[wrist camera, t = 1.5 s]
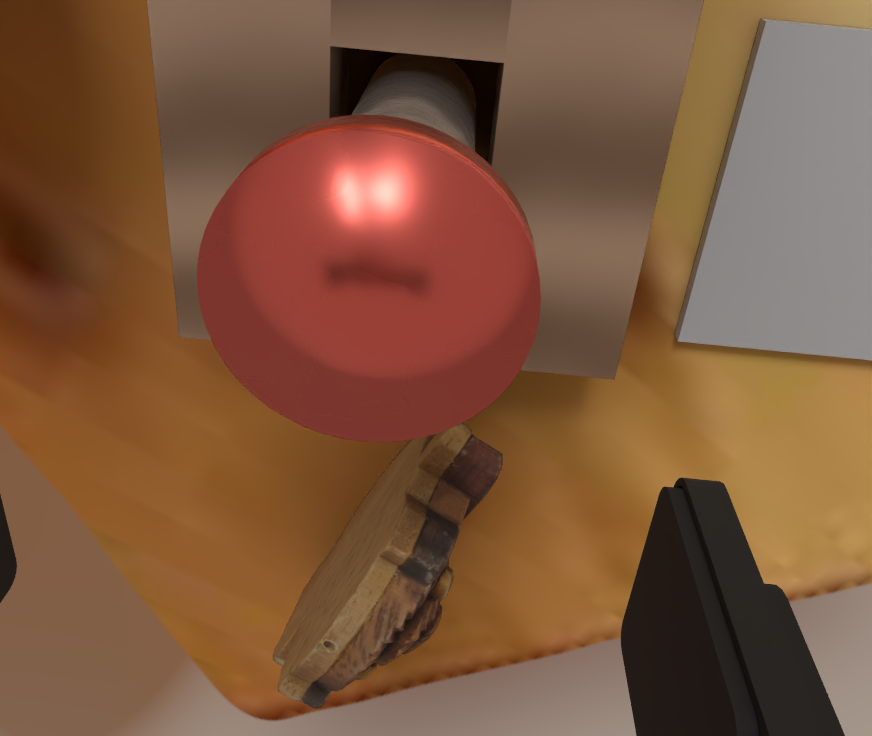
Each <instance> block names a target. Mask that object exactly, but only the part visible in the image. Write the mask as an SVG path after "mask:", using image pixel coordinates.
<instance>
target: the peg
mask: <svg viewBox="0 0 872 736" xmlns="http://www.w3.org/2000/svg"><path fill="white" fill-rule="evenodd" d="M475 131H476V98H475V94H474V90H473V87H472V85H471V83H470V81H469V79H468V77H467V76H466V74H465V73H464V71H463V70H462V69H461V68H460V67H459V66H458V65H457V64H456V63H455V62H454V61H452V60H451V59H449V58H447V57H437V56H427V55H417V54H406V53H399V54H396V55H394V56H392V57H391V58H389V59H388V60H386V61H385V62H384V63H382V65H381V66H380V67H379V68H378V69H377V70H376V71H375V73H374V74H373V76H372V78H371V79H370V81H369V83H368V85H367V87H366V89H365V91H364V92H363V94H362V96H361V98H360V100H359V102H358V104H357V106H356V107H355V109H354V111H353V113H352V115H348V116H339V117H333V118H329V119H325V120H321V121H317V122H313V123H311V124H308V125H306V126H303V127H301V128H298V129H296V130H293V131H291V132H290V133H288V134H286V135H285V136H283V137H281V138H279V139H278V140H276V141H274V142H273V143H272V144H270V145H269V146H268V147H267V148H265V149H264V150H263V151H262V152H260V153H259V154H258V155H257V156H256V157H255V158H254V159H253V160H252V161H251V162H250V163H249V164H248V165H247V166H246V168H245V169H244V170H243V171H242V172H241V173H240V175H239V176H238V177H237V178H236V180H235V181H234V182H233V184H232V185H231V186H230V187H229V189H228V190H227V191H226V193H225V194H224V196H223V197H222V199H221V200H220V201H219V203H218V204H217V206H216V207H215V209H214V211H213V213H212V215H211V217H210V219H209V221H208V224H207V226H206V228H205V231H204V235H203V238H202V241H201V245H200V249H199V256H198V263H197V291H198V297H199V304H200V309H201V312H202V316H203V319H204V323H205V326H206V328H207V331H208V333H209V335H210V337H211V340H212V342H213V344H214V346H215V348H216V349H217V351H218V353H219V354H220V356H221V358H222V359H223V361H224V363H225V364H226V365H227V366H228V368H229V369H230V370H231V372H232V373H233V374H234V375H235V377H236V378H237V379H238V380H239V381H240V382H241V383H242V384H243V385H244V386H245V387H246V388H247V389H248V390H249V391H250V392H251V393H252V394H253V395H254V396H256V397H257V398H258V399H259V400H261V401H262V402H263V403H264V404H266V405H267V406H268V407H270V408H271V409H273V410H274V411H276V412H278V413H279V414H281V415H282V416H284V417H286V418H288V419H290V420H292V421H294V422H296V423H298V424H300V425H302V426H304V427H307V428H309V429H312V430H315V431H317V432H320V433H323V434H327V435H331V436H334V437H338V438H342V439H349V440H355V441H362V442H397V441H406V440H412V439H418V438H423V437H426V436H430V435H433V434H437V433H440V432H443V431H445V430H448V429H450V428H452V427H455V426H457V425H459V424H461V423H463V422H465V421H466V420H468V419H470V418H472V417H473V416H475V415H477V414H478V413H479V412H481V411H482V410H483V409H485V408H486V407H487V406H489V405H490V404H491V403H492V402H493V401H495V400H496V399H497V398H498V397H499V396H500V395H501V394H502V393H503V392H504V391H505V390H506V388H507V387H508V386H509V385H510V383H511V382H512V381H513V380H514V378H515V377H516V376H517V374H518V373H519V371H520V369H521V368H522V366H523V364H524V362H525V361H526V359H527V357H528V354H529V352H530V349H531V347H532V345H533V342H534V339H535V335H536V331H537V327H538V323H539V316H540V305H541V293H540V278H539V270H538V262H537V255H536V250H535V245H534V240H533V235H532V232H531V229H530V226H529V224H528V221H527V218H526V215H525V213H524V211H523V209H522V208H521V206H520V204H519V202H518V200H517V198H516V196H515V195H514V193H513V192H512V190H511V189H510V188H509V186H508V185H507V183H506V182H505V181H504V179H503V178H502V177H501V176H500V175H499V174H498V173H497V172H496V171H495V169H494V168H493V167H492V166H491V165H490V164H489V163H488V162H487V161H486V160H484V159H483V158H482V157H481V156H480V155H478V154H477V153H476V152H475Z"/></svg>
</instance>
